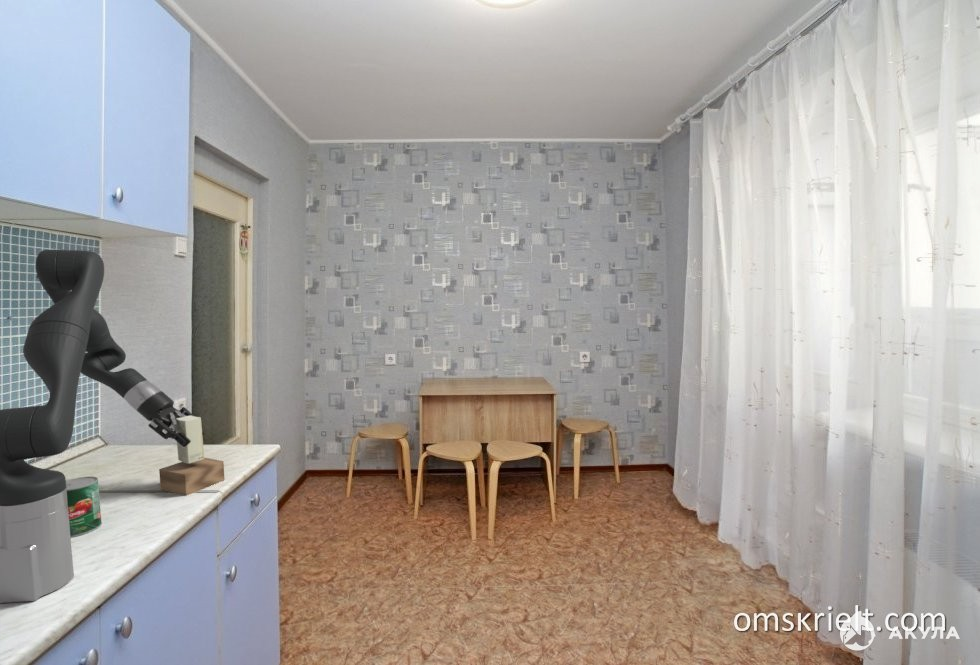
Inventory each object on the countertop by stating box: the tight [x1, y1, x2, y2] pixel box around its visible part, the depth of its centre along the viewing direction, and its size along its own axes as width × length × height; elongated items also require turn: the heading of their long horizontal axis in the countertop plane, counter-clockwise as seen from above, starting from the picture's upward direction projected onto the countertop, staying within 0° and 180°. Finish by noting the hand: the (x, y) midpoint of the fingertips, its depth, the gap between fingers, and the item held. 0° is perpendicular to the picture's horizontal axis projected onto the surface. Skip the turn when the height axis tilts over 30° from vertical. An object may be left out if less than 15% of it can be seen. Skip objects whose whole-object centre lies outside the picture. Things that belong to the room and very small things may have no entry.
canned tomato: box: [66, 476, 103, 538], centre depth 104 cm, size 8×8×11 cm
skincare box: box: [176, 415, 205, 464], centre depth 128 cm, size 6×4×12 cm
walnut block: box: [158, 457, 225, 497], centre depth 129 cm, size 11×11×6 cm
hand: (195, 440), depth 128 cm, fingers closed on skincare box, 7 cm apart
